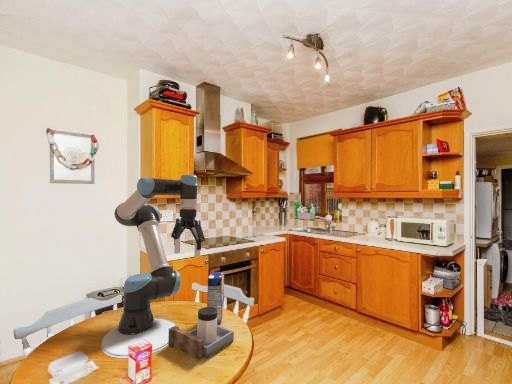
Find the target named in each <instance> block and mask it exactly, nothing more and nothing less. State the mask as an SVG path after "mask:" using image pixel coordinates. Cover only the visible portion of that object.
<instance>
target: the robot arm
mask: <svg viewBox="0 0 512 384" xmlns="http://www.w3.org/2000/svg"><path fill="white" fill-rule="evenodd" d="M198 185H199V183H198V177H197V175H193V174H182V175H181V176H180V178H179V179H170V178H169V179H168V178H154V177H153V178H152V177H140V178H139V179H138V180H137V183H136V190H135V191H134V192H133V193H132V194H131V195H130V196H129V197H128V198H127V199H126V200H125V201H124V202H121V203H119V204H118V205H117V207H115V209H114V218H115V220H116V221H117V222H118V223H119V224H120V225H121V226H125V227H136V229H137V231H138V232H141V237H142V240H143V244H144V247H145V251H146V254H147V258H148V262H149V265H150V270H151V271H150V272H149V273H148V272H143V273H136V274H133V275H130V276H129V277H128V278H126V280H125V281H124V288H123V311H122V314H121V317H120V318H119V322H118V329H117V330H118V331H119V332H120V333H122V334H124V333H125V335H132V334H131V333H136V334H140V333H139V332H141V333H143V331H144V332H146V331H148V330H151V328H153V326H154V323H155V319H154V315H153V313H152V308H151V302H152V301H156V300H161V299H163V298H167V297H170V296H173V295H176V294H177V293H178V292H179V290H180V288H181V284H182V279H181V275H180V272H179V271H178V270H174V269H173V266H172V265H170V264H169V262H168V259H167V256H166V253H165V249H164V246H163V241H162V239H161V236H160V232H159V229H158V227H159V224H160V223H161V219H162V218H161V215H162V214H161V211H160V209H159V208H158V207H157V206H155V205H150V204H148V202H149V201H150V200H152V198H155V196H174V197H177V196H179V197H180V198H179V208H180V209H179V217H178V218H176V219H175V223H174V227H173V229H172V232H171V234H170V238H173V246H174V251H173V252H174V254H181V236H182V235H183V233H184V231H185V230H188V231H190V232H191V234H192V237H193V239H194V240H195V242H194V258H201V250H202V243H203V242H205V241H206V239H205V238H206V237H205V235H204V232H203V228H202V225H201V219H196V217H197V214H198V213H197V206H198V200H197V199H198Z"/></svg>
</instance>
